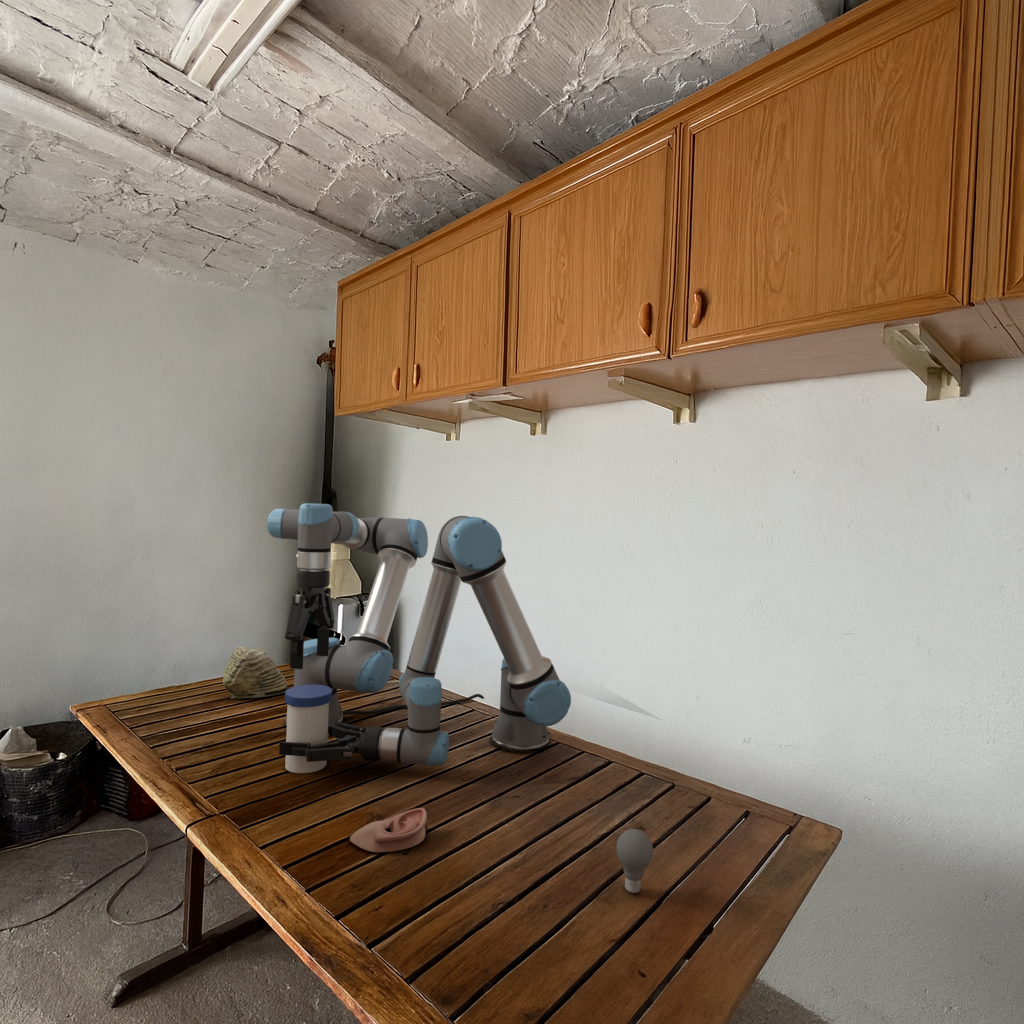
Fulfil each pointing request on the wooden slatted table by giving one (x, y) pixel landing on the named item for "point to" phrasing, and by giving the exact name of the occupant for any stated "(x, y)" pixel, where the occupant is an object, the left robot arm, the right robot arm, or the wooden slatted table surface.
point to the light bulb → (634, 857)
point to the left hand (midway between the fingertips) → (310, 661)
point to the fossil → (252, 674)
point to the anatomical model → (392, 832)
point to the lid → (308, 695)
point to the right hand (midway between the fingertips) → (291, 738)
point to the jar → (306, 734)
